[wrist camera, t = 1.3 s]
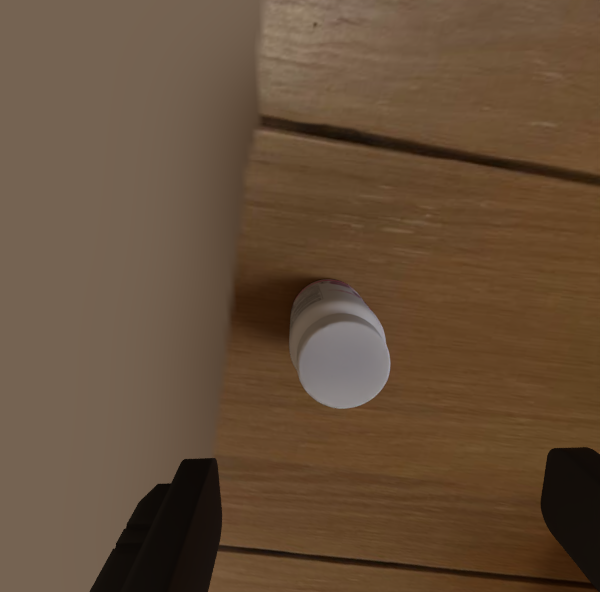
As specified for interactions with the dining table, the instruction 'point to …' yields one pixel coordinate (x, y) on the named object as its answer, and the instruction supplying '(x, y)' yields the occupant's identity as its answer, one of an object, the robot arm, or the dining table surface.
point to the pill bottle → (337, 345)
